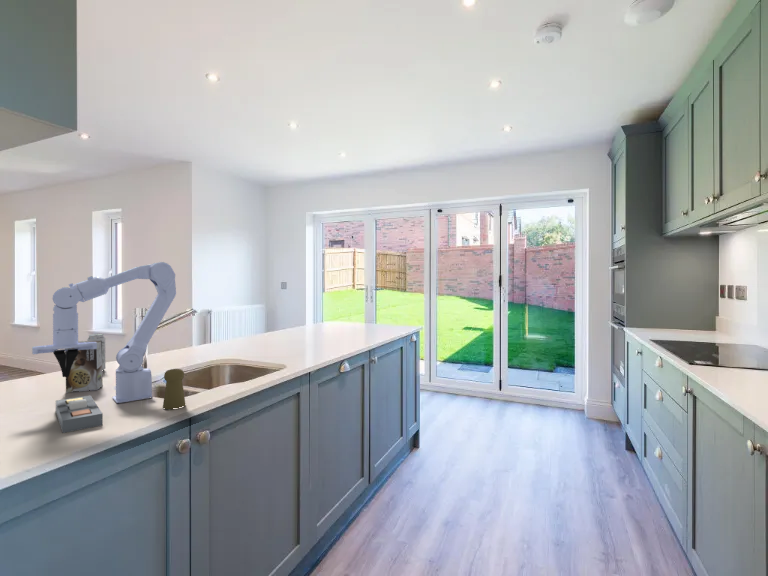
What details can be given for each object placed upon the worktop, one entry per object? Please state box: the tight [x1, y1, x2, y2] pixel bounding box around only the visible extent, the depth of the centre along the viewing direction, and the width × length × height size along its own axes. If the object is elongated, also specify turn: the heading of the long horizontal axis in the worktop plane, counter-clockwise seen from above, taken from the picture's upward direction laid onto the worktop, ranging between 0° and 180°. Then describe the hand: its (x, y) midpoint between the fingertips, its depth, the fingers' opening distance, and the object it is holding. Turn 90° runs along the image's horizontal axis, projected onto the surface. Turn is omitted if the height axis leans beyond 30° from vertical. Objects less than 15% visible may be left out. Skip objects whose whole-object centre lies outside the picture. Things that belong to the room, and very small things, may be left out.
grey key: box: [69, 399, 87, 410], centre depth 108 cm, size 4×4×3 cm
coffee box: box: [65, 340, 104, 393], centre depth 137 cm, size 9×6×16 cm
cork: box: [162, 368, 186, 409], centre depth 118 cm, size 6×6×11 cm
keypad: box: [55, 394, 104, 434], centre depth 108 cm, size 8×22×3 cm, turn 43°
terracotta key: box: [71, 409, 91, 417], centre depth 103 cm, size 4×4×3 cm
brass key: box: [66, 397, 83, 404], centre depth 113 cm, size 4×4×3 cm
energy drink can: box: [86, 333, 106, 371], centre depth 164 cm, size 6×6×15 cm
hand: (65, 376), depth 116 cm, fingers closed
